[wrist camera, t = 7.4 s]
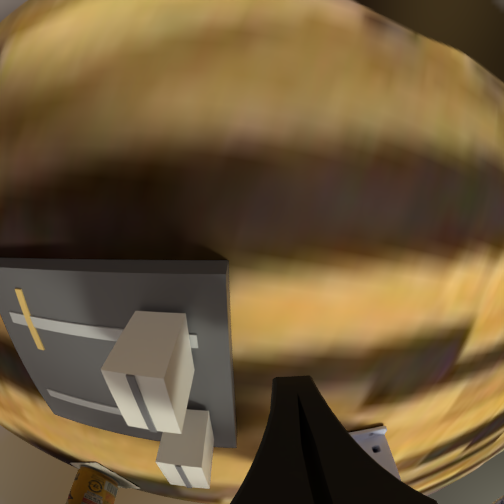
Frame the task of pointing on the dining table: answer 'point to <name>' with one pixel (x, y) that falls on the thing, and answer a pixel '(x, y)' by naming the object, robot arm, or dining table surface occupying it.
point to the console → (117, 331)
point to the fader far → (188, 452)
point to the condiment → (95, 485)
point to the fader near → (152, 371)
